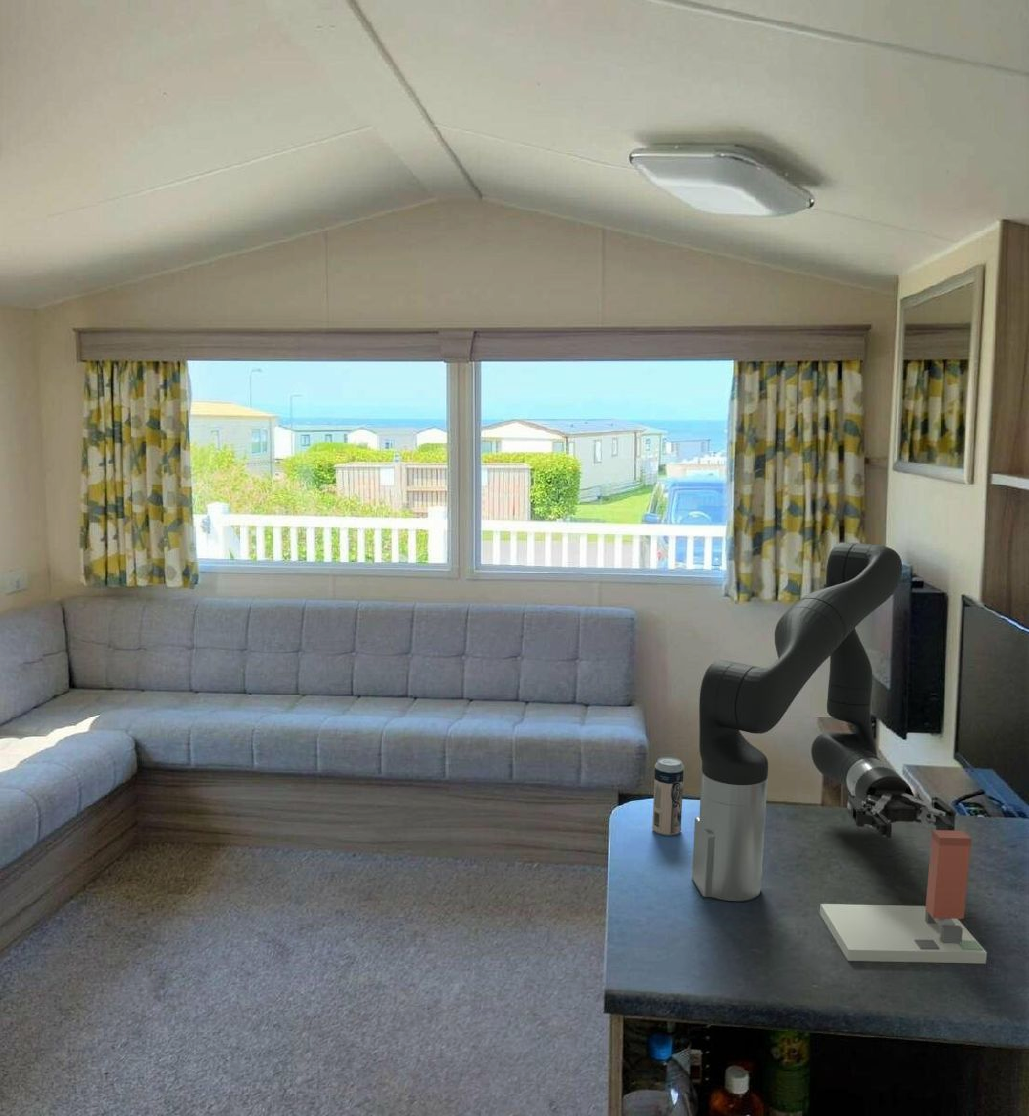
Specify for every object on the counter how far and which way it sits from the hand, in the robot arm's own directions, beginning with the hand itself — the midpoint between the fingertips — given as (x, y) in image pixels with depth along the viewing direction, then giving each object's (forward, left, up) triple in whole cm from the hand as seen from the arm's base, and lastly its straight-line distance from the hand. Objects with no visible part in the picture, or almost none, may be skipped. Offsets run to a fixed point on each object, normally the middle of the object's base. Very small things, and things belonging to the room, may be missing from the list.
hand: (919, 832), depth 142 cm
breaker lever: (-1, -10, -8) cm, 13 cm away
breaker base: (-6, -8, -11) cm, 15 cm away
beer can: (-29, +27, -11) cm, 41 cm away
